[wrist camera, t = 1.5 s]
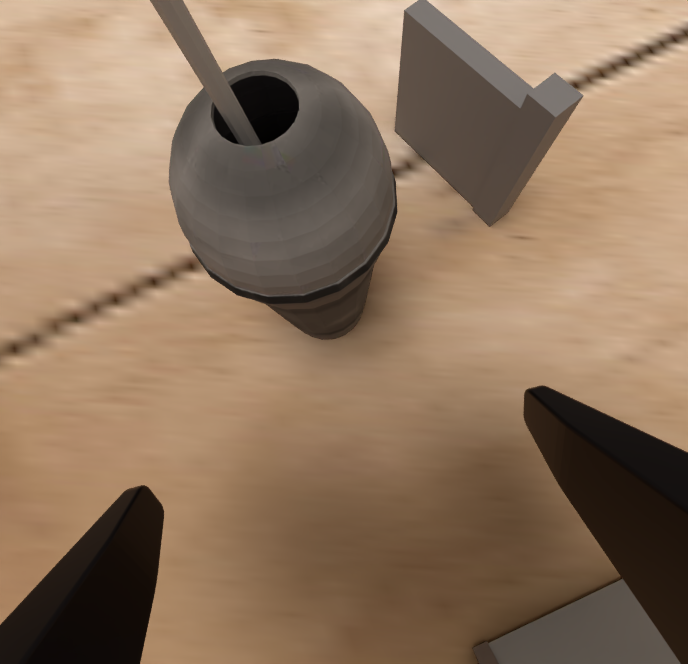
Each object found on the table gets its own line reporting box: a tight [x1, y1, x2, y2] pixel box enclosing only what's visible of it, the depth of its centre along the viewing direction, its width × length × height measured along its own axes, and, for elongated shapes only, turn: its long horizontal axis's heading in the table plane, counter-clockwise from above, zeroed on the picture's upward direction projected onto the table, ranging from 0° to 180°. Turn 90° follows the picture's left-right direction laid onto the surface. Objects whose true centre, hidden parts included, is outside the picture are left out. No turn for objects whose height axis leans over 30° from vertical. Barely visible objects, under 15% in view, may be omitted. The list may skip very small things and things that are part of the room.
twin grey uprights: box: [395, 0, 583, 226], centre depth 19 cm, size 34×2×9 cm, turn 39°
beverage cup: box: [150, 0, 397, 339], centre depth 14 cm, size 7×7×20 cm
